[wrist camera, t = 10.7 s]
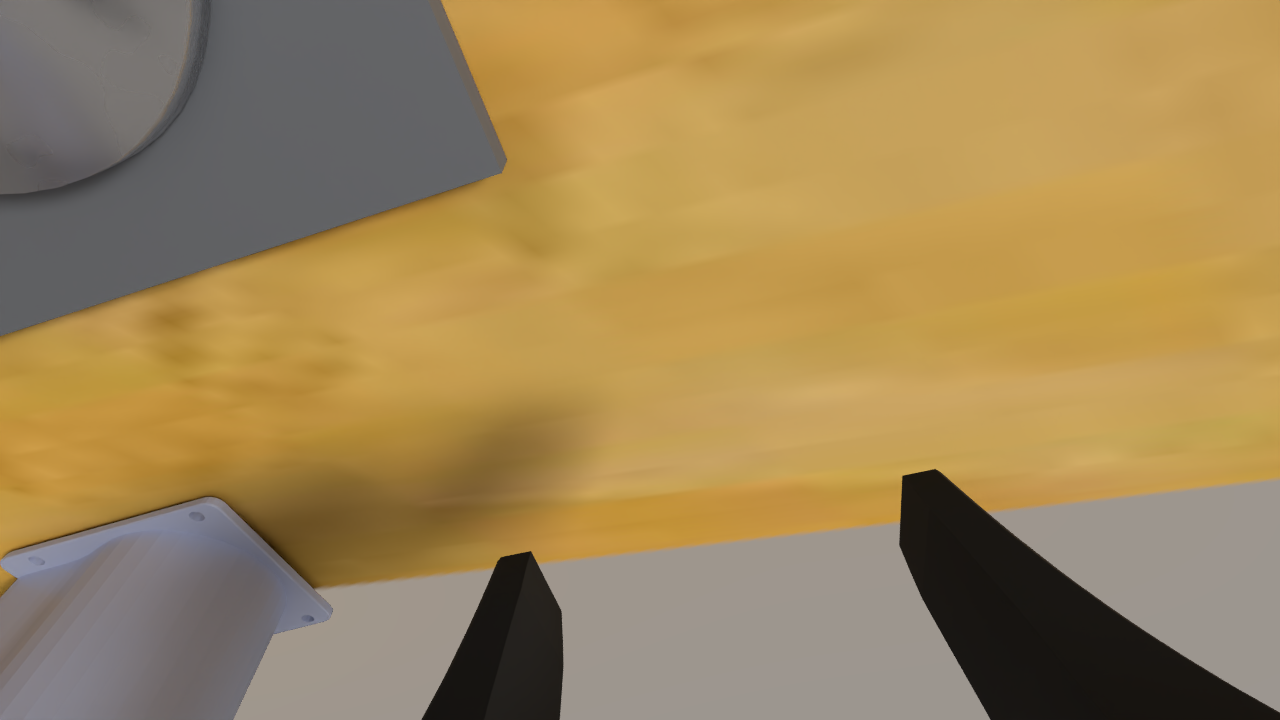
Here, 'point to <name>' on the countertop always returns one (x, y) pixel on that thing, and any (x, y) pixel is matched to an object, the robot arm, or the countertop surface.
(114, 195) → the dial panel
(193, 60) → the dial
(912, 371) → the countertop surface
